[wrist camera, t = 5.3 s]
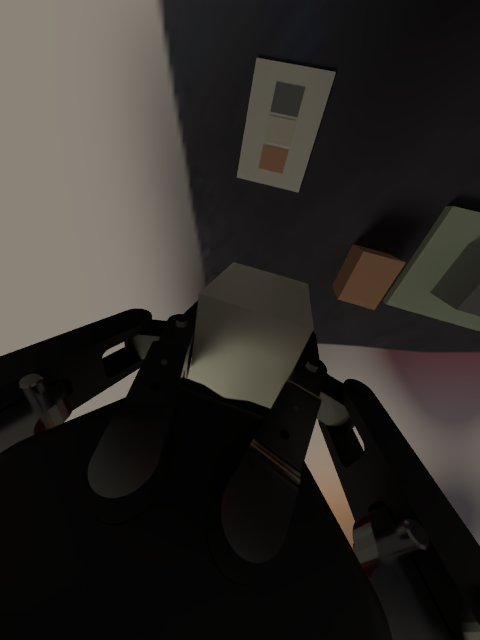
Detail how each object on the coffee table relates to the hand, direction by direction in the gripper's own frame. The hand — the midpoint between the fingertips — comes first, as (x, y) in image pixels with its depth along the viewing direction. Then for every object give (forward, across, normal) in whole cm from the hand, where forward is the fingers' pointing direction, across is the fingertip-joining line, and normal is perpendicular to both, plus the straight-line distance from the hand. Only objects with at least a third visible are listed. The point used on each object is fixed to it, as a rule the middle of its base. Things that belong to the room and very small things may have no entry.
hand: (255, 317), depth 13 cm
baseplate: (+19, -22, -4) cm, 29 cm away
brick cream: (0, 0, 0) cm, 0 cm away
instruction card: (+19, +4, -13) cm, 23 cm away
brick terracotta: (+19, -11, -1) cm, 22 cm away
